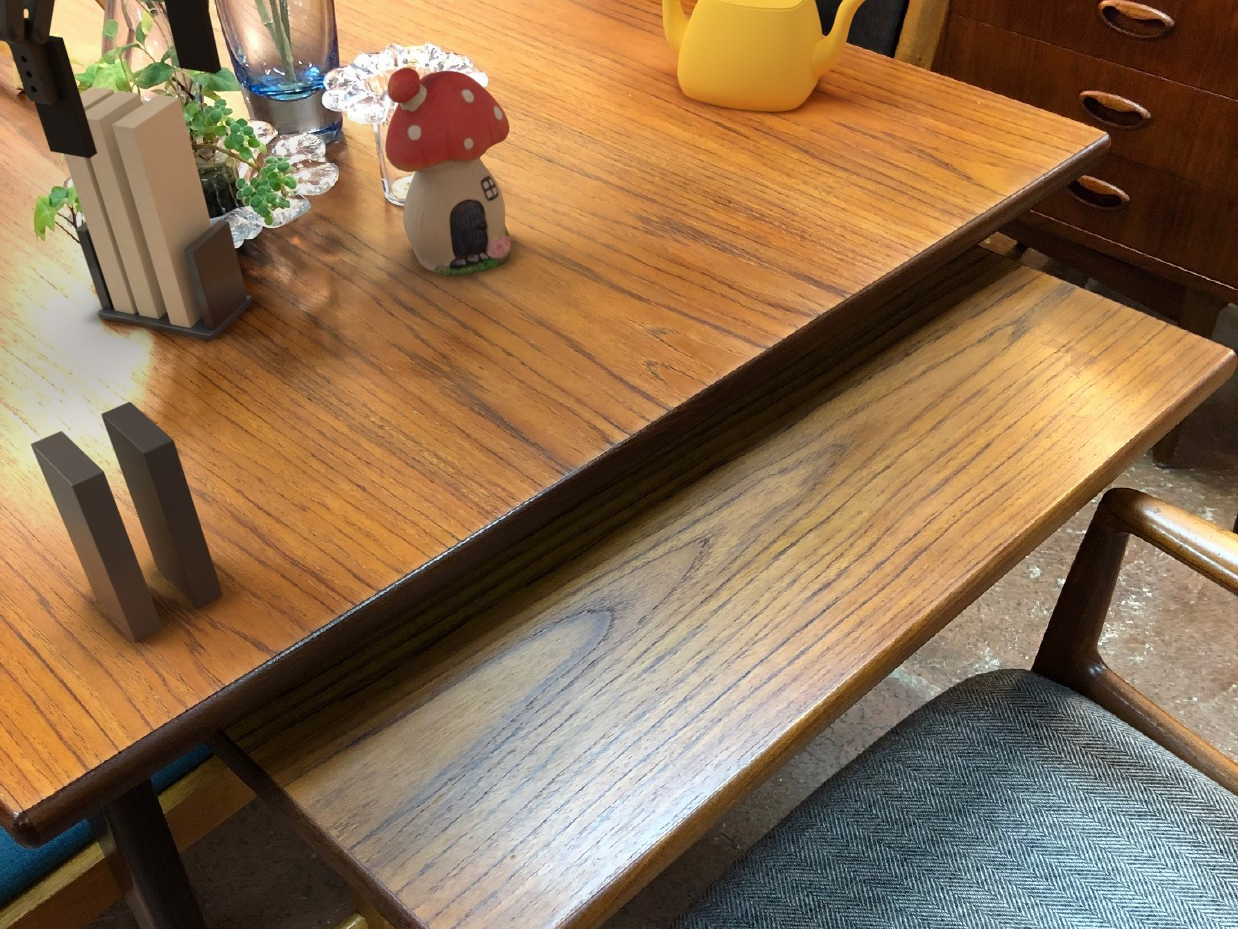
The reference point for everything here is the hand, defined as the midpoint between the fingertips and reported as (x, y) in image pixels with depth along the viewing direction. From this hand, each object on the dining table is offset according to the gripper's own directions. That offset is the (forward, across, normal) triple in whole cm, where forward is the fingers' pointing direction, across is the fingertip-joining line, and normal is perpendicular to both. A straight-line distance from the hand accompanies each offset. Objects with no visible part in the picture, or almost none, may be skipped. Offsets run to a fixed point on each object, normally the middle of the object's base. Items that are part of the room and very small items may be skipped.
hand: (141, 108), depth 75 cm
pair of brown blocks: (+15, -26, -14) cm, 33 cm away
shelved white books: (+14, 0, +3) cm, 14 cm away
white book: (+14, 0, 0) cm, 14 cm away
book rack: (+15, 0, +2) cm, 15 cm away
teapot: (+15, +55, -28) cm, 63 cm away
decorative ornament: (+15, +14, -14) cm, 25 cm away
